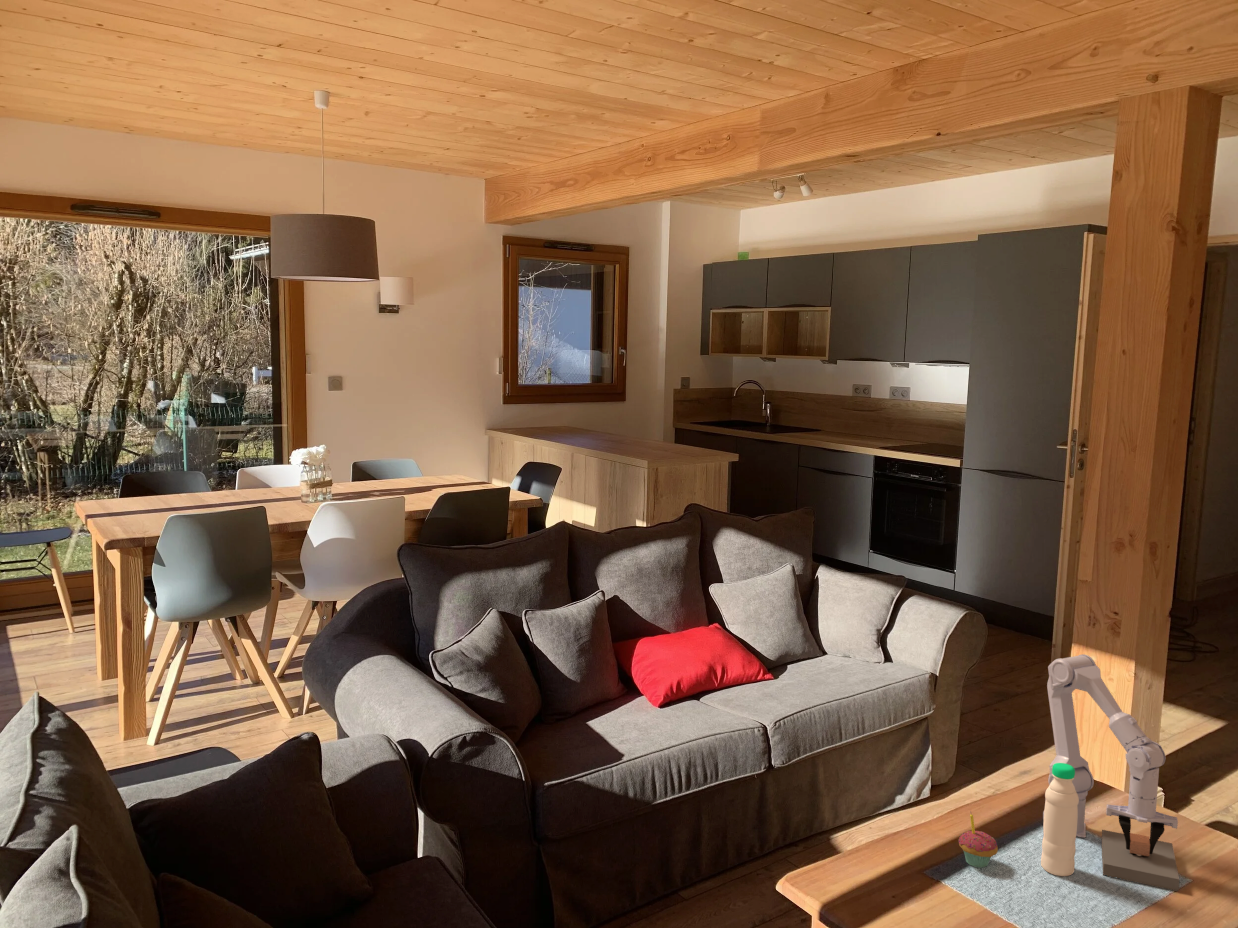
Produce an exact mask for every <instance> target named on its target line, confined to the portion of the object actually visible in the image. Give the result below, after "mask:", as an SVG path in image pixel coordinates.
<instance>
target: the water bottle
mask: <svg viewBox="0 0 1238 928" xmlns="http://www.w3.org/2000/svg"><path fill="white" fill-rule="evenodd" d="M1052 775H1053V777H1054V779H1053V781H1052V782H1051V783H1050V786H1049V785H1048V787H1047V788H1046V790H1045V793H1044V797H1045V799H1046V802H1045V801H1044V802H1045V803H1044V810H1043V811H1044V819H1043V829H1042V830H1043V832H1042V833H1043V838H1042V842H1041V848H1042V849H1041V857H1040V858H1041V859H1040V865H1041V867H1042V869H1043V870H1044V871H1046V872H1048V874H1050V875H1054V876H1057V877H1069V876H1071V875H1073V873H1074V872H1075V865H1076V864H1075V863H1076V861H1075V855H1076V846H1077V845H1076V838H1077V836H1076V833H1077V819H1078V808H1077V805H1078V803H1079V797H1078V794H1077V792H1076V790H1075V787H1074V785H1073V783H1072V780H1073V779H1074V776H1075V769H1074V768H1073V767H1072V766H1071V765H1068V764H1065V763H1055V764H1054V765H1053V767H1052Z"/></svg>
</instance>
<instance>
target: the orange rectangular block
mask: <svg viewBox="0 0 1238 928" xmlns="http://www.w3.org/2000/svg"><path fill="white" fill-rule="evenodd" d="M1149 839H1150V835H1149V836H1148V835H1144V834H1137V833H1132V832H1130V850H1129V851H1130V853H1134V854H1136V856H1142V855H1144V856H1149V853H1150V840H1149Z"/></svg>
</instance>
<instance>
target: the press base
mask: <svg viewBox="0 0 1238 928" xmlns="http://www.w3.org/2000/svg"><path fill="white" fill-rule="evenodd" d="M1100 839H1101V840H1100V841H1101V844H1100V845H1101V861H1102V876H1104V875H1107V876H1106V877H1109V876H1111V877H1110V878H1114V877H1117V878H1116V879H1118V878H1121V879H1120V880H1123V879H1124V880H1123V881H1127V882H1128V881H1129V882H1132V881H1133V883H1137V882H1138V884H1142V885H1147V886H1151V887H1156V888H1160V889H1165V890H1171V891H1174V892H1179V889H1180V887H1179V886H1180V877H1179V871H1178V866H1177V861H1176V856H1175V851H1174V845H1173V843H1172V842H1167V841H1162V840H1158V841H1157V843H1156V845H1155V847H1154V849H1153V853H1152V854H1149V856H1144V855H1142V856H1136V854H1134V853H1130V851H1129V850H1128V849H1126V841H1125V837H1124V833H1123V832H1122V833H1121V832H1116V831H1111V830H1105V829H1101V837H1100ZM1149 840H1150V838H1149Z"/></svg>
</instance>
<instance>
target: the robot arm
mask: <svg viewBox="0 0 1238 928" xmlns="http://www.w3.org/2000/svg"><path fill="white" fill-rule="evenodd" d="M1047 669H1048V680H1047V683H1046V684H1047V685H1046V687H1047V695H1048V702H1049V703H1048V704H1049V710H1050V711H1049V712H1050V717H1051V718H1050V719H1051V724H1052V725H1051V726H1052V733H1053V741H1054V746H1055V747H1054V749H1055V754H1056V755H1055V757H1054V759H1053V760H1052V761H1051V763H1050V764H1049V775H1048V780H1047V782H1048V787H1049V786H1050V783H1051V782H1052V781H1053V779H1054V777H1053V775H1052V767H1053V765H1054V764H1055V763H1065V764H1068V765H1071V766H1072V767H1073V768H1074V769H1075V776H1074V779H1073V780H1072V783H1073V785H1074V787H1075V790H1076V792H1077V794H1078V797H1079V803H1078V805H1077V808H1078V819H1077V833H1076V838H1077V837H1078V838H1084V839H1085V838H1086V837H1087V836H1086V835H1087V834H1086V833H1087V832H1086V830H1087V829H1086V828H1087V827H1086V822H1085V820H1086V817H1085V815H1086V814H1085V813H1086V805H1087V804H1086V803H1087V802H1086V801H1087V796H1088V793H1089V792H1088V791H1090V790H1092V789H1093V787H1094V783H1095V782H1094V781H1095V780H1094V779H1095V778H1094V776H1093V774H1092V772H1091V770H1090V767H1089V762H1088V761H1087V760H1086V759H1085V758H1084V757H1082V756H1081V752H1080V751H1081V750H1080V743H1079V738H1078V736H1079V735H1078V728H1077V724H1076V723H1077V722H1076V716H1075V715H1076V714H1075V708H1074V702H1073V701H1074V700H1073V693H1074V691H1075V690H1079V691H1083V692H1086V693H1087V694H1089V696H1090V697H1091V698H1092V700H1093V701H1094V702H1095V703H1096V704H1097V706H1098V707H1099V708H1100V709H1101V711H1102V712H1103V713H1104V714H1105V715H1106V716H1107V718H1108V720H1109V723H1108V727H1109V730H1110V731H1112V733H1113V735H1114V736H1115V737H1116V739H1117V740H1118V742H1119V743H1120V744H1121V746H1122V747H1123V749H1124V750H1125V751H1126V753H1125V760H1126V763H1127V764H1128V767H1129V771H1128V772H1129V773H1130V775H1129V776H1130V777H1129V790H1128V791H1129V792H1128V801H1127V803H1128V804H1127V805H1115V804H1106V809H1105V810H1106V811H1105V815H1106V816H1108V817H1112V816H1115V817H1118V824H1119V826H1120V828H1121V830H1122V834H1124V837H1125V841H1126V849H1128V850H1130V833H1131V829H1132V824H1131V823H1132V822H1131V821H1132V820H1136V821H1137V822H1138V823H1139V822H1140V823H1146V824H1147V823H1150V832H1149V839H1150V853H1149V854H1152V853H1153V849H1154V847H1155V845H1156V843H1157V841H1159V839H1160V838H1161V836H1162V835H1163V834H1164V833H1165V826H1167V827H1171V828H1173V829H1176V830H1177V829H1178V825H1179V824H1178V823H1179V820H1178V817H1177V816H1172V815H1169V814H1166V813H1162V812H1159V811H1157V802H1158V788H1159V778H1160V777H1159V776H1160V775H1159V774H1160V767H1161V766H1163V765H1165V762H1166V760H1167V759H1166V753H1165V750H1164V749H1163V747H1162V745H1160V744H1159V742H1158V743H1157V742H1156V741H1154V740H1152V739H1151V738H1149V737H1148V736H1147V735H1146V734H1145V732H1144V731H1143V730H1142V728H1141V726H1140V725H1139V724H1138V720H1136V718H1135V717H1133V716H1132V715H1131V714H1130V713H1126V712H1124V711H1123V710H1122V709H1121V707H1120V706H1119V704H1118V702H1117V701H1116V699H1115V698H1114V696H1113V694H1112V693H1111V691H1110V690H1109V688H1108V687H1107V685H1106V683H1105V682H1104V680H1103V679H1102V675H1101V669H1100V668H1099V667H1098V665H1097V664H1096V662H1095V660H1094V659H1093V657H1091V656H1089V655H1087V654H1079V655H1075V656H1068V657H1063V658H1056V659H1054V660H1053V661H1052V662H1051V663H1049V665H1048V666H1047ZM1044 800H1045V801H1044V802H1046V798H1045V799H1044ZM1042 819H1043V820H1044V810H1043V811H1042Z"/></svg>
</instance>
